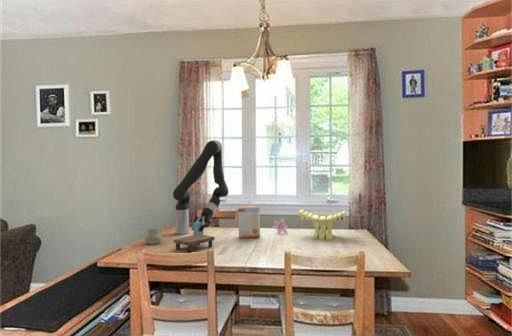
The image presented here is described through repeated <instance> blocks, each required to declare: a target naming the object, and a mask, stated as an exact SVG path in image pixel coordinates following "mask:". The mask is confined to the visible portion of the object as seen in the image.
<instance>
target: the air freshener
mask: <svg viewBox="0 0 512 336" xmlns="http://www.w3.org/2000/svg"><path fill="white" fill-rule="evenodd" d="M147 231H148V234H146V236H145V237H144V242H145V243H147V244H148V245H151V244H154V245H158V244H159V243H161V242H162V240H163V237H162V235H161V234H159V228H158V227H156V226H152V227H151V226H150V227H148V230H147Z"/></svg>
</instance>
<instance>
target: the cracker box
mask: <svg viewBox="0 0 512 336" xmlns="http://www.w3.org/2000/svg"><path fill="white" fill-rule="evenodd" d="M237 209H238V210H237V211H238V238H239V239H247V238H248V239H259V238H260V237H261V219H260V217H261V215H260V211H261V210H260V206H259V205H254V206H253V205H250V206H249V205H247V206H246V205H243V206H238V208H237Z"/></svg>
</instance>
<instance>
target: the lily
mask: <svg viewBox="0 0 512 336" xmlns="http://www.w3.org/2000/svg"><path fill="white" fill-rule="evenodd" d="M273 222H274V225H273V226H271V229H275V230H277V234H278V236H279V235H280V234H281V233H284V234H286V235H288V231H287V228H288V227H289V225H288V224H285V221H284V218H283V217H282V218H281V219H280V220H279V221H277V220H274V221H273Z"/></svg>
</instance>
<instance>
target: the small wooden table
mask: <svg viewBox="0 0 512 336" xmlns="http://www.w3.org/2000/svg"><path fill="white" fill-rule="evenodd" d="M213 241H215V236H212V235H206V234H203V235H201V234H197V235H194V234H192V235H189V236H183V237H179V238H175V239H173V244H175V250H176V251H177V250H179V249H180V250H181V246H186V247H187V246H188V247H187V249H188V250H187V252H188V253H191V252H190V251H192V252H193V246H195V245H196V246H197V245H198V246H200V245H201V244H203V243H204V244H205V243H208V245H207V247H208V248H213Z"/></svg>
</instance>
